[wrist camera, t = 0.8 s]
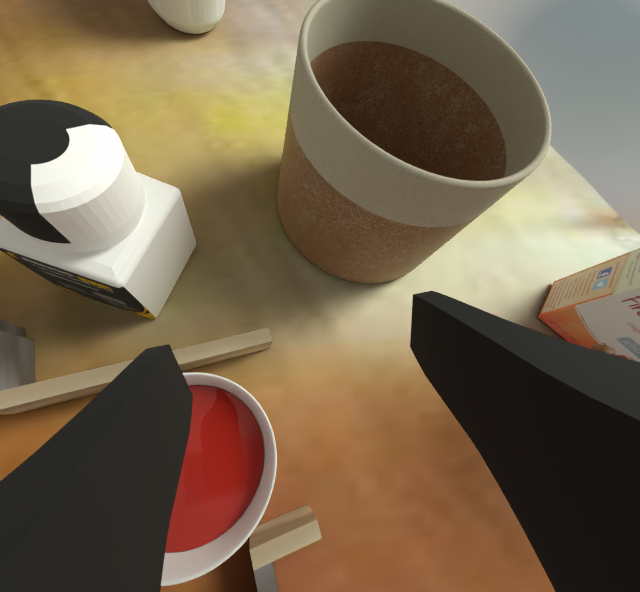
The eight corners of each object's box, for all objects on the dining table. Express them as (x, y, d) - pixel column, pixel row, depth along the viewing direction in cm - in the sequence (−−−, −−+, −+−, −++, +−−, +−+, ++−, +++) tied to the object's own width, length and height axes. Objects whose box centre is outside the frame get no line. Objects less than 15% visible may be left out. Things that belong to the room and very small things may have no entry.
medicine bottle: (58, 288, 22) (-135, 168, 11) (112, 212, 24) (2, 53, 13) (156, 321, 22) (70, 241, 11) (198, 243, 25) (161, 118, 14)
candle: (116, 542, 18) (53, 609, 12) (135, 385, 21) (92, 377, 15) (270, 517, 20) (279, 563, 14) (267, 377, 23) (274, 368, 17)
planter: (244, 235, 26) (242, 79, 14) (317, 125, 33) (361, -51, 20) (403, 316, 27) (538, 239, 15) (444, 194, 34) (563, 66, 21)
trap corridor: (329, 590, 19) (342, 620, 17) (-298, 924, 12) (-467, 1086, 9) (253, 284, 25) (254, 269, 22) (-201, 371, 17) (-286, 364, 15)
